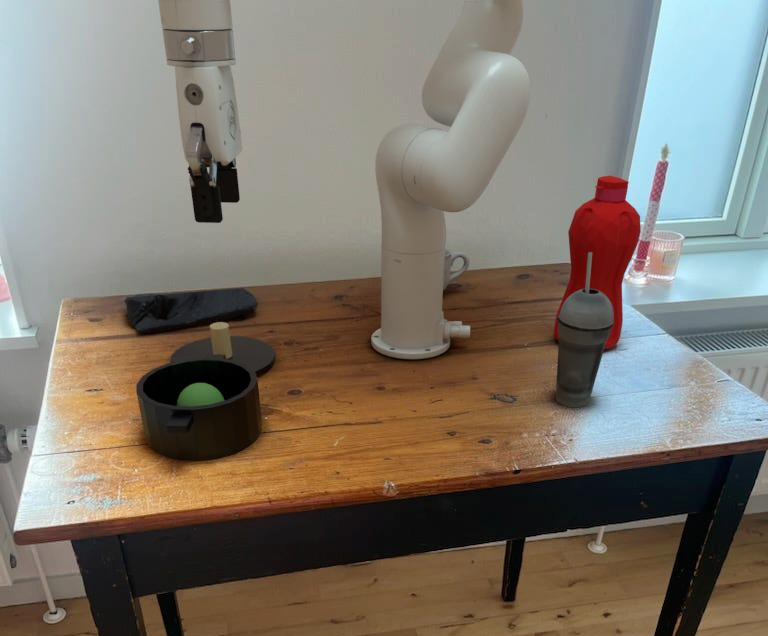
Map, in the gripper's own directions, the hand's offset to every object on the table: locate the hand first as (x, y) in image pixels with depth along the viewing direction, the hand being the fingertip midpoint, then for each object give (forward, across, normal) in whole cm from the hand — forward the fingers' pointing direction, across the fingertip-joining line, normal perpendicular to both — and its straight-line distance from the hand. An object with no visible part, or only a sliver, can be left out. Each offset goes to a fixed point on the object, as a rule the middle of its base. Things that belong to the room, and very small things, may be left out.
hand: (218, 211), depth 93 cm
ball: (+21, -12, +2) cm, 24 cm away
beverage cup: (+24, 0, -47) cm, 53 cm away
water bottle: (+24, +21, -53) cm, 62 cm away
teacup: (+24, +42, -27) cm, 56 cm away
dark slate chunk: (+24, +29, +14) cm, 40 cm away
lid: (+24, +9, +4) cm, 26 cm away
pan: (+24, -12, +2) cm, 27 cm away
